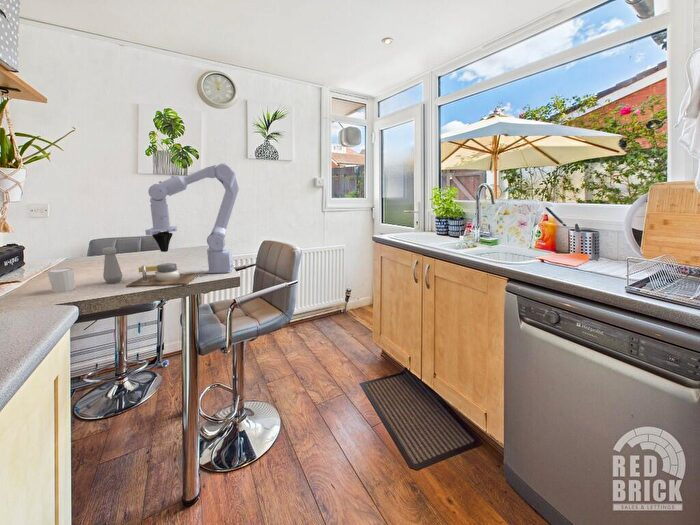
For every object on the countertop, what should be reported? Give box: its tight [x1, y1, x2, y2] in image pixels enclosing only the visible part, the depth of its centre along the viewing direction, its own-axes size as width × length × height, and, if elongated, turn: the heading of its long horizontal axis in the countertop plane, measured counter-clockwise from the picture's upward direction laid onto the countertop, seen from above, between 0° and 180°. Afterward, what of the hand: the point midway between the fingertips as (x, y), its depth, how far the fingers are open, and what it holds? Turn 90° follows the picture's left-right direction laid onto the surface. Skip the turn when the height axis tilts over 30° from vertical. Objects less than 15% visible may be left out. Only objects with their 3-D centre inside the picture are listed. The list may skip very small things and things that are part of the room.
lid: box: [138, 262, 178, 273], centre depth 124 cm, size 12×6×2 cm, turn 116°
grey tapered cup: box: [46, 267, 76, 293], centre depth 113 cm, size 7×7×7 cm
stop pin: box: [140, 265, 150, 283], centre depth 121 cm, size 3×3×6 cm
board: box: [125, 272, 201, 288], centre depth 126 cm, size 20×16×1 cm
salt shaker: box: [101, 246, 123, 284], centre depth 122 cm, size 6×6×13 cm
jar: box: [154, 268, 181, 281], centre depth 126 cm, size 8×8×3 cm
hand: (164, 251), depth 131 cm, fingers closed
